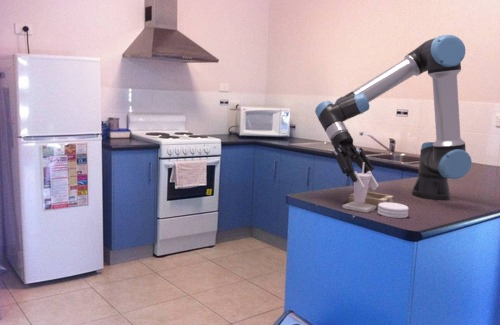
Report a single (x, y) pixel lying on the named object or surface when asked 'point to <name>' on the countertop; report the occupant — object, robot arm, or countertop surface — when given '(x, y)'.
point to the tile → (359, 207)
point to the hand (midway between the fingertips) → (368, 188)
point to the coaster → (393, 210)
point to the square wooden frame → (374, 198)
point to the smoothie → (361, 195)
